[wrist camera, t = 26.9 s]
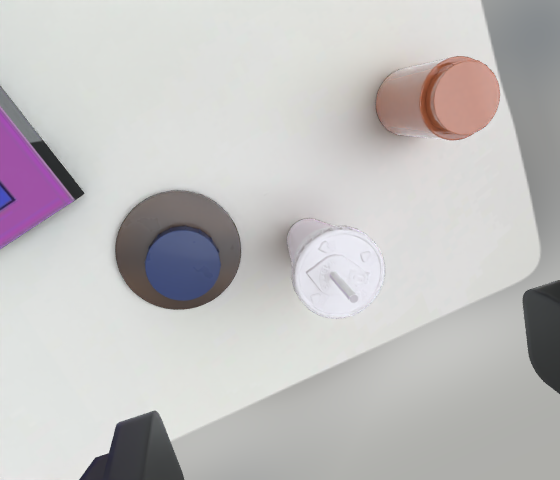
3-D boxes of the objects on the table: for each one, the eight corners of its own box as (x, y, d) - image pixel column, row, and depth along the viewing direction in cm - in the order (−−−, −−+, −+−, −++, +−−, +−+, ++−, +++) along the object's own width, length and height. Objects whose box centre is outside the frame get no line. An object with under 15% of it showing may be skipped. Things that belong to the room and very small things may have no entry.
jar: (443, 122, 40) (512, 123, 31) (386, 145, 40) (439, 153, 31) (427, 58, 39) (496, 41, 30) (367, 81, 38) (418, 71, 29)
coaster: (253, 287, 41) (254, 289, 40) (140, 321, 40) (139, 324, 39) (221, 175, 38) (221, 176, 38) (98, 210, 37) (96, 211, 37)
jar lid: (131, 268, 38) (129, 273, 37) (175, 211, 38) (175, 214, 36) (190, 307, 40) (190, 314, 38) (234, 253, 39) (235, 258, 38)
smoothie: (277, 198, 39) (319, 240, 26) (349, 207, 41) (425, 251, 27) (266, 271, 41) (301, 346, 27) (336, 277, 42) (402, 352, 29)
